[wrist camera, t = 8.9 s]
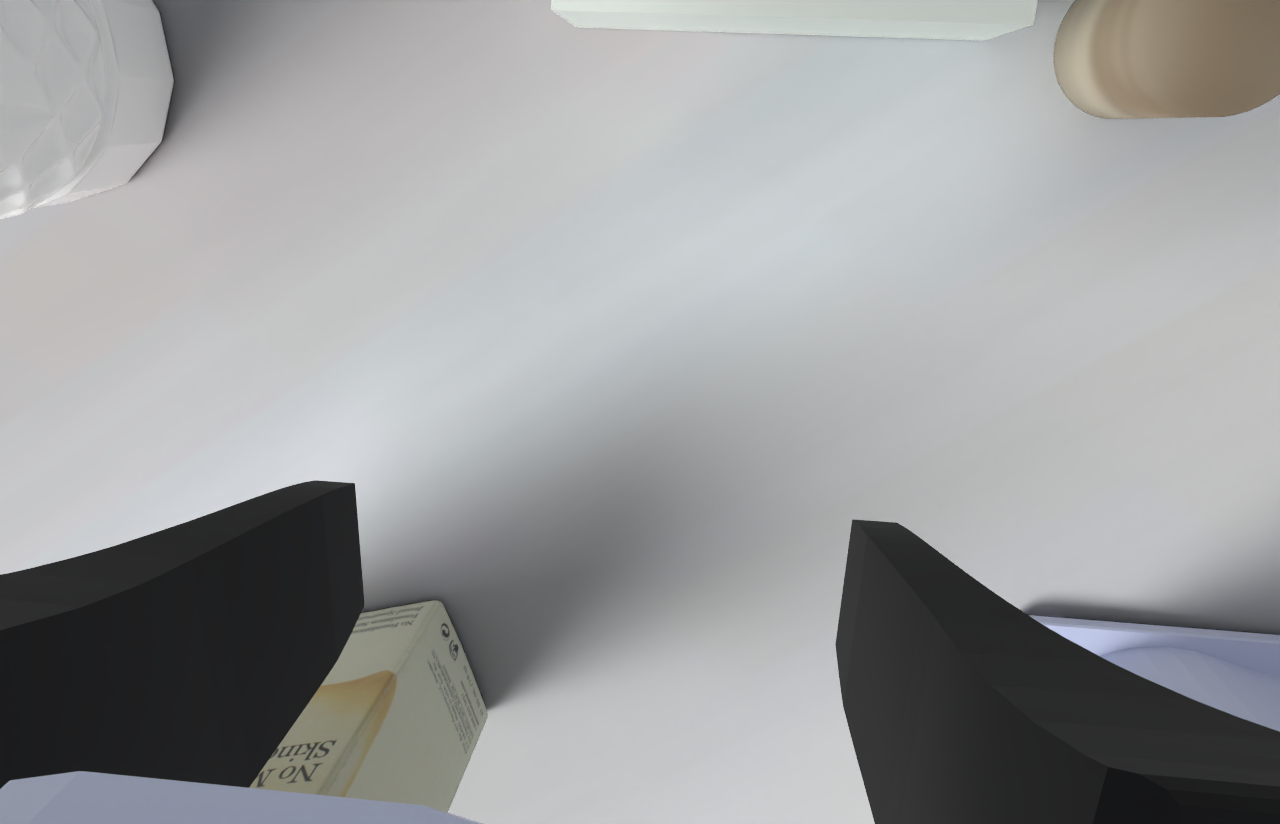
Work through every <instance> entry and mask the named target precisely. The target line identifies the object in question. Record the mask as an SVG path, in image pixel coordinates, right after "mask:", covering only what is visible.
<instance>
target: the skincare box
mask: <svg viewBox="0 0 1280 824" xmlns="http://www.w3.org/2000/svg"><path fill="white" fill-rule="evenodd" d="M487 715H488V713H487V710H486V707H485V705H484V702H483V699H482V697H481V694H480V691H479V689H478V686H477V683H476V681H475V678H474V675H473V673H472V670H471V668H470V665H469V663H468V660H467V658H466V655H465V653H464V651H463V648H462V645H461V643H460V641H459V639H458V636H457V634H456V632H455V630H454V627H453V625H452V623H451V621H450V619H449V617H448V614H447V612H446V610H445V608H444V606H443V604H442V603H441V602H440V601H437V600H435V601H427V602H421V603H415V604H410V605H404V606H398V607H392V608H387V609H382V610H377V611H372V612H367V613H361V614H360V616H359V618H358V620H357V622H356V625H355V627H354V629H353V631H352V633H351V635H350V637H349V639H348V641H347V643H346V645H345V647H344V649H343V651H342V653H341V655H340V657H339V658H338V660H337V662H336V664H335V665H334V667H333V668H332V670H331V671H330V673H329V674H328V676H327V677H326V678H325V680H324V681H323V683H322V684H321V686H320V687H319V689H318V690H317V692H316V693H315V695H314V696H313V697H312V699H311V700H310V702H309V703H308V705H307V706H306V708H305V709H304V710H303V712H302V713H301V715H300V716H299V717H298V719H297V720H296V722H295V723H294V725H293V726H292V727H291V729H290V730H289V732H288V733H287V735H286V736H285V737H284V739H283V740H282V742H281V743H280V744H279V746H278V747H277V749H276V750H275V752H274V753H273V754H272V756H271V757H270V759H269V760H268V762H267V763H266V764H265V766H264V767H263V769H262V770H261V771H260V773H259V774H258V776H257V777H256V779H255V780H254V781H253V783H252V784H251V786H250V787H249V788H256V789H266V790H276V791H286V792H296V793H306V794H315V795H325V796H335V797H345V798H355V799H365V800H375V801H385V802H395V803H405V804H415V805H424V806H427V807H431V808H434V809H437V810H440V811H443V812H448V810H449V808H450V805H451V803H452V801H453V798H454V796H455V793H456V791H457V789H458V786H459V784H460V782H461V779H462V777H463V774H464V772H465V769H466V767H467V765H468V763H469V761H470V758H471V755H472V753H473V751H474V748H475V746H476V744H477V741H478V739H479V736H480V734H481V731H482V729H483V727H484V724H485V722H486V719H487Z"/></svg>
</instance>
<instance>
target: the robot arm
mask: <svg viewBox="0 0 1280 824" xmlns="http://www.w3.org/2000/svg"><path fill="white" fill-rule="evenodd" d="M363 607H364V594H363V581H362V569H361V556H360V544H359V531H358V519H357V506H356V493H355V483H342V482H328V481H310V482H304V483H300V484H296V485H292V486H289V487H286V488H282V489H279V490H276V491H273V492H270V493H267V494H264V495H261V496H258V497H256V498H253V499H250V500H247V501H244V502H242V503H239V504H236V505H233V506H231V507H228V508H225V509H222V510H219V511H217V512H214V513H211V514H208V515H206V516H203V517H200V518H197V519H195V520H192V521H189V522H186V523H183V524H180V525H177V526H174V527H171V528H168V529H165V530H162V531H159V532H156V533H153V534H150V535H147V536H144V537H141V538H138V539H135V540H132V541H129V542H126V543H123V544H120V545H116V546H113V547H110V548H106V549H103V550H100V551H96V552H92V553H89V554H85V555H82V556H78V557H74V558H71V559H67V560H63V561H59V562H55V563H51V564H47V565H43V566H39V567H35V568H31V569H26V570H22V571H17V572H13V573H8V574H3V575H0V824H482V823H479V822H475V821H472V820H469V819H466V818H463V817H459V816H456V815H453V814H450V813H447V812H443V811H440V810H437V809H434V808H431V807H427V806H424V805H415V804H405V803H395V802H385V801H375V800H365V799H355V798H345V797H335V796H325V795H315V794H306V793H296V792H286V791H276V790H266V789H256V788H249V787H250V786H251V784H252V783H253V781H254V780H255V779H256V777H257V776H258V774H259V773H260V771H261V770H262V769H263V767H264V766H265V764H266V763H267V762H268V760H269V759H270V757H271V756H272V754H273V753H274V752H275V750H276V749H277V747H278V746H279V744H280V743H281V742H282V740H283V739H284V737H285V736H286V735H287V733H288V732H289V730H290V729H291V727H292V726H293V725H294V723H295V722H296V720H297V719H298V717H299V716H300V715H301V713H302V712H303V710H304V709H305V708H306V706H307V705H308V703H309V702H310V700H311V699H312V697H313V696H314V695H315V693H316V692H317V690H318V689H319V687H320V686H321V684H322V683H323V681H324V680H325V678H326V677H327V676H328V674H329V673H330V671H331V670H332V668H333V667H334V665H335V664H336V662H337V660H338V658H339V657H340V655H341V653H342V651H343V649H344V647H345V645H346V643H347V641H348V639H349V637H350V635H351V633H352V631H353V629H354V627H355V625H356V622H357V620H358V618H359V616H360V614H361V612H362V610H363ZM836 652H837V661H838V669H839V678H840V685H841V693H842V700H843V707H844V710H845V714H846V718H847V722H848V726H849V730H850V733H851V737H852V741H853V745H854V748H855V752H856V756H857V760H858V763H859V767H860V770H861V774H862V778H863V781H864V785H865V789H866V792H867V796H868V800H869V803H870V807H871V811H872V814H873V818H874V822H875V824H1280V635H1272V634H1260V633H1247V632H1234V631H1222V630H1209V629H1197V628H1184V627H1172V626H1159V625H1146V624H1134V623H1121V622H1109V621H1096V620H1084V619H1071V618H1059V617H1046V616H1033V615H1030V616H1029V615H1027V614H1025V613H1024V612H1022V611H1021V610H1019V609H1018V608H1016V607H1015V606H1013V605H1011V604H1010V603H1008V602H1007V601H1005V600H1004V599H1002V598H1001V597H999V596H998V595H997V594H995V593H994V592H992V591H991V590H989V589H988V588H986V587H985V586H984V585H982V584H981V583H979V582H978V581H977V580H975V579H974V578H973V577H971V576H970V575H968V574H967V573H966V572H964V571H963V570H962V569H960V568H959V567H958V566H956V565H955V564H954V563H952V562H951V561H950V560H948V559H947V558H946V557H944V556H943V555H942V554H940V553H939V552H938V551H936V550H935V549H934V548H933V547H931V546H930V545H929V544H927V543H926V542H925V541H923V540H922V539H921V538H919V537H918V536H916V535H915V534H914V533H912V532H911V531H909V530H908V529H906V528H905V527H903V526H901V525H900V524H898V523H892V522H878V521H864V520H852V526H851V534H850V541H849V549H848V556H847V564H846V571H845V579H844V586H843V594H842V601H841V609H840V616H839V624H838V631H837V639H836Z"/></svg>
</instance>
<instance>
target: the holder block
mask: <svg viewBox="0 0 1280 824" xmlns="http://www.w3.org/2000/svg"><path fill="white" fill-rule="evenodd" d="M1037 3H1038V0H552V6H551V10H552V11H554V12H555V13H556V14H558V15H559V16H561V17H562V18H564V19H565V20H566V21H568V22H569V23H571V24H572V25H574V26H575V27H576V28H608V29H639V30H670V31H701V32H732V33H763V34H794V35H825V36H856V37H888V38H919V39H950V40H981V41H985V40H988V39H991V38H995V37H998V36H1001V35H1004V34H1007V33H1010V32H1013V31H1016V30H1019V29H1022V28H1025V27H1029V26H1032V25H1034V20H1035V15H1036V9H1037Z"/></svg>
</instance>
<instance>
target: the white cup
mask: <svg viewBox="0 0 1280 824" xmlns="http://www.w3.org/2000/svg"><path fill="white" fill-rule="evenodd" d="M173 84H174V78H173V73H172V69H171V64H170V59H169V55H168V50H167V45H166V41H165V36H164V31H163V27H162V22H161V17H160V13H159V11H158V9H157V7H156V6H155V4H154V3H153V1H152V0H0V219H4V218H8V217H13V216H16V215H20V214H23V213H25V212H26V211H28V210H29V209H32V208H38V207H44V206H50V205H56V204H61V203H67V202H72V201H76V200H79V199H82V198H85V197H88V196H91V195H94V194H97V193H100V192H103V191H107V190H110V189H113V188H116V187H119V186H122V185H125V184H126V183H127V182H128V181H129V180H130V179H131V178H132V176H133V175H134V174H135V173H136V172H137V170H138V169H139V168H140V167H141V166H142V164H143V163H144V162H145V161H146V160H147V159H148V157H149V156H150V155H151V154H152V153H153V151H154V150H155V149H156V148H157V147H158V146H159V144H160V143H161V141H162V138H163V133H164V128H165V123H166V118H167V113H168V109H169V104H170V99H171V94H172V89H173Z"/></svg>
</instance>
